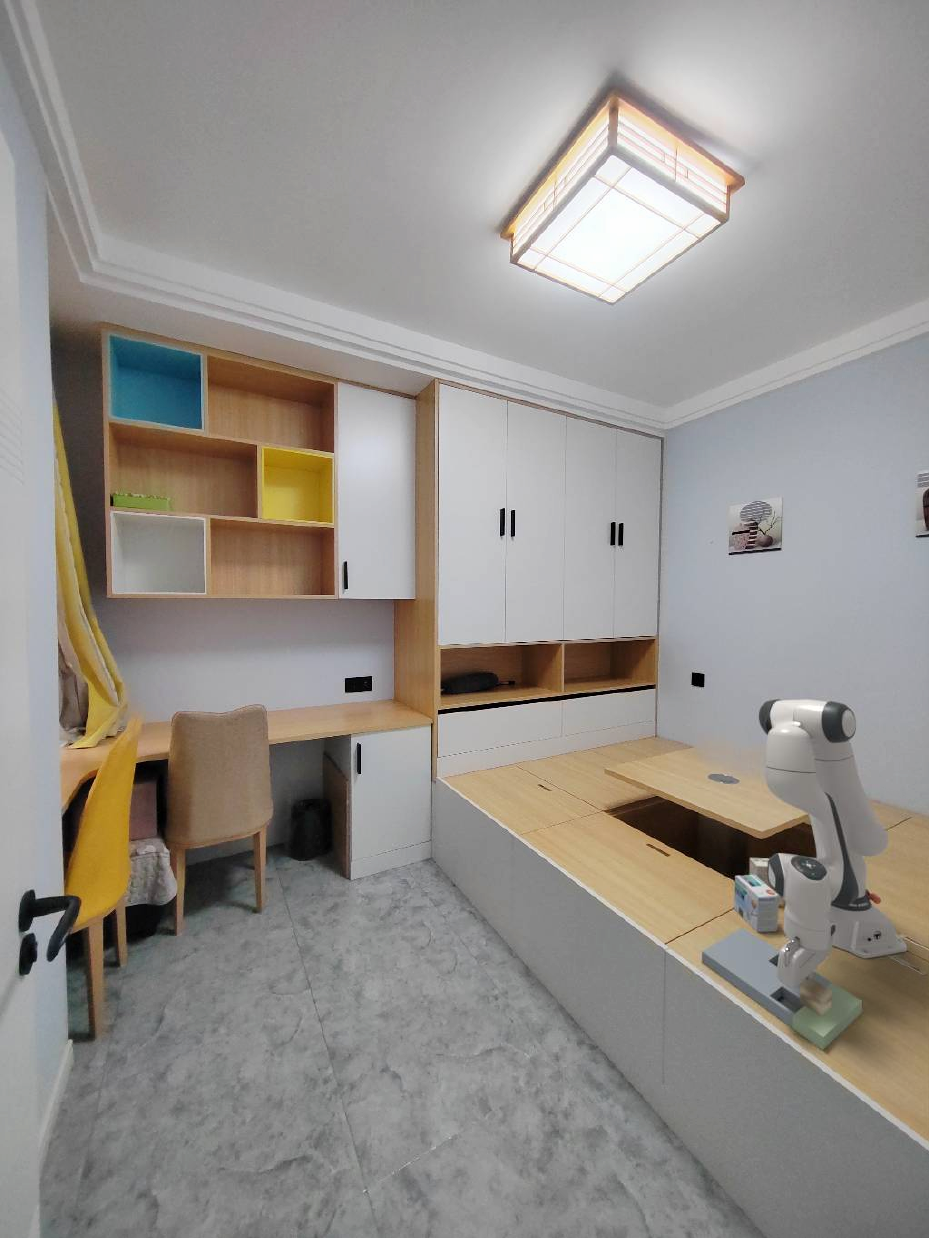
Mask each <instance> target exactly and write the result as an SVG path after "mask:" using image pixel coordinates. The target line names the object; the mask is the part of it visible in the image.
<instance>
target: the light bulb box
mask: <svg viewBox="0 0 929 1238" xmlns="http://www.w3.org/2000/svg"><path fill="white" fill-rule="evenodd" d="M733 895H734V897H733V898H734V900H733V901H734V902H733V909H734V910H735V911H736V913H738V914H739V915H740V917H741V918H742V919H743V920H744V921H745V922H746V923H747V924H748V925H749V926H750V927H751V928H752V929H753V930H754V931H755V932H756V933H764V932H765V933H766V932H778V931H779V930H778V929H779V908H780V907H779V895H778V894H777V893H776V892H774V891H773V890H772V889H771V888H770V887H769V886H767V885H766V884H765V883H764V882H763V881H762V880H761V879H759V878H758V877H757V876H756V875H750V874H743V875H735V876H734V894H733Z"/></svg>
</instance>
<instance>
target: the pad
mask: <svg viewBox="0 0 929 1238" xmlns="http://www.w3.org/2000/svg"><path fill="white" fill-rule="evenodd" d="M826 988H828V989H829V990H831V991H832V998H831V1008H830V1009H829V1010H828V1011H827V1012H826V1013H825V1014H824V1015H823V1016H820V1015H819V1014H817V1013H816V1012H814V1011H813V1010H811V1009H810V1008H808V1007H807V1006H804V1007H802V1008H801V1009H800V1010H799V1011H798V1012H796V1013H795V1014H794V1015H793V1022H792V1028H791V1029H792V1030H794V1031H796V1032H797V1033H798V1034H799V1035H801V1036H802V1037H803V1038H804V1039H806V1040H808V1041H809V1042H810V1043H812V1044H813V1045H815V1046H816V1047H818V1048H819V1049H820V1050H822V1051H824V1050H825V1049H826V1048H827V1047H828V1046H829V1045H830V1044H831V1043H832V1042H833V1041H835V1040H836V1039H837V1037H838V1036H839V1035H841V1034H842V1033H843V1031H844V1030H845V1029H847V1028H848V1027H849V1026H850V1025H851V1024H852V1023H853V1022H854V1021H856V1019H857V1018H858V1017H859V1016H860V1015H862V1012H863V1011H862V1008H863V1005H862V1004H863V1000H862V999H860V998H858V997H857V996H855V995H853V994H852V993H850V992H848V991H847V990H845V989H843V988H842V987H840V986H838V985H837V984H835V983H834V982H832V983H831V984H830V985H829V986H827V987H826Z"/></svg>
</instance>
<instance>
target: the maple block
mask: <svg viewBox="0 0 929 1238" xmlns="http://www.w3.org/2000/svg"><path fill="white" fill-rule="evenodd" d="M831 998H832V991H831V990H829V989H828V988H826V987H824V986H823V985H821V984H820V983H818V982H816V981H815V980H813V979H811V978H809V979H808V980H807V981H806V982H804V983H803V984H802V985H801V991H800V1002H801V1003H802V1004H804V1005H805V1006H807V1007H808V1008H810V1009H811V1010H813V1011H814V1012H816V1013H817V1014H819V1015H820V1016H823V1015H824V1014H825V1013H826V1012H827V1011H828V1010H829V1009H830V1008H831Z"/></svg>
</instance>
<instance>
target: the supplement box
mask: <svg viewBox="0 0 929 1238" xmlns="http://www.w3.org/2000/svg"><path fill="white" fill-rule="evenodd" d="M769 859H770V858H768V857H767V858H763V857H761V858H760V857H750V858H749V875H756V876H757V877H758V878H759V879H761V880H762V881H763V882H764V883H765V884H766V885H767V886H769V887H770V888H771V889H772V890H773V891H774V892H776V891H775V890H774V889H773V888H772V887H771V886H770V884H769V882H768V876H767V869H768V860H769ZM776 893H777V892H776ZM777 894H778V893H777ZM778 895H779V894H778ZM783 907H784V898H782V897H781V896H780V895H779V908H783Z"/></svg>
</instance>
